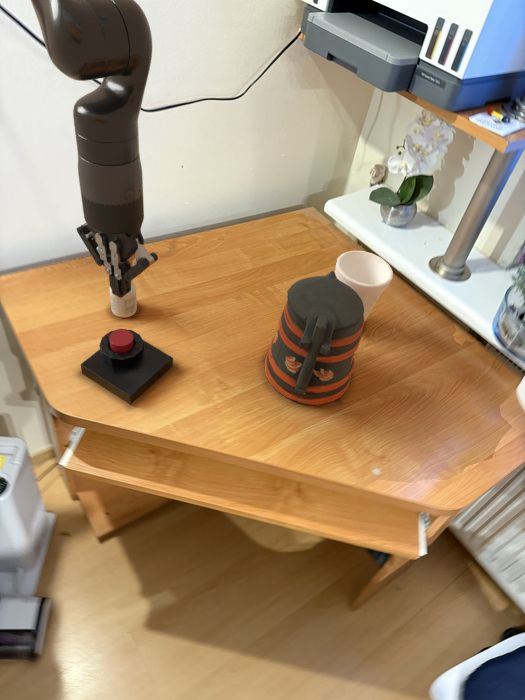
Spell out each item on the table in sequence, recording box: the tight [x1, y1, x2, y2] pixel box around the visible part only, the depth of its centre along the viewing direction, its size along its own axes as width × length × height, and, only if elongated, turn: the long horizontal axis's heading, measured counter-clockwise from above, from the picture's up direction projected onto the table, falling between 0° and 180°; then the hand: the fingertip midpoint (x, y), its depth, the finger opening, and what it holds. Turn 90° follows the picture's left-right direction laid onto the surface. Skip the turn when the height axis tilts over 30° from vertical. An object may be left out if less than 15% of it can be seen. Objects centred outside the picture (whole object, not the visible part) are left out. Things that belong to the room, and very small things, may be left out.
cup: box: [334, 250, 394, 323], centre depth 93 cm, size 10×10×13 cm
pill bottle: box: [108, 279, 138, 318], centre depth 89 cm, size 4×4×8 cm
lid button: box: [109, 328, 134, 354], centre depth 81 cm, size 4×4×2 cm
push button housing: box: [80, 328, 174, 406], centre depth 81 cm, size 10×10×4 cm
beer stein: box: [264, 270, 366, 406], centre depth 79 cm, size 19×15×20 cm
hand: (120, 293), depth 76 cm, fingers closed
